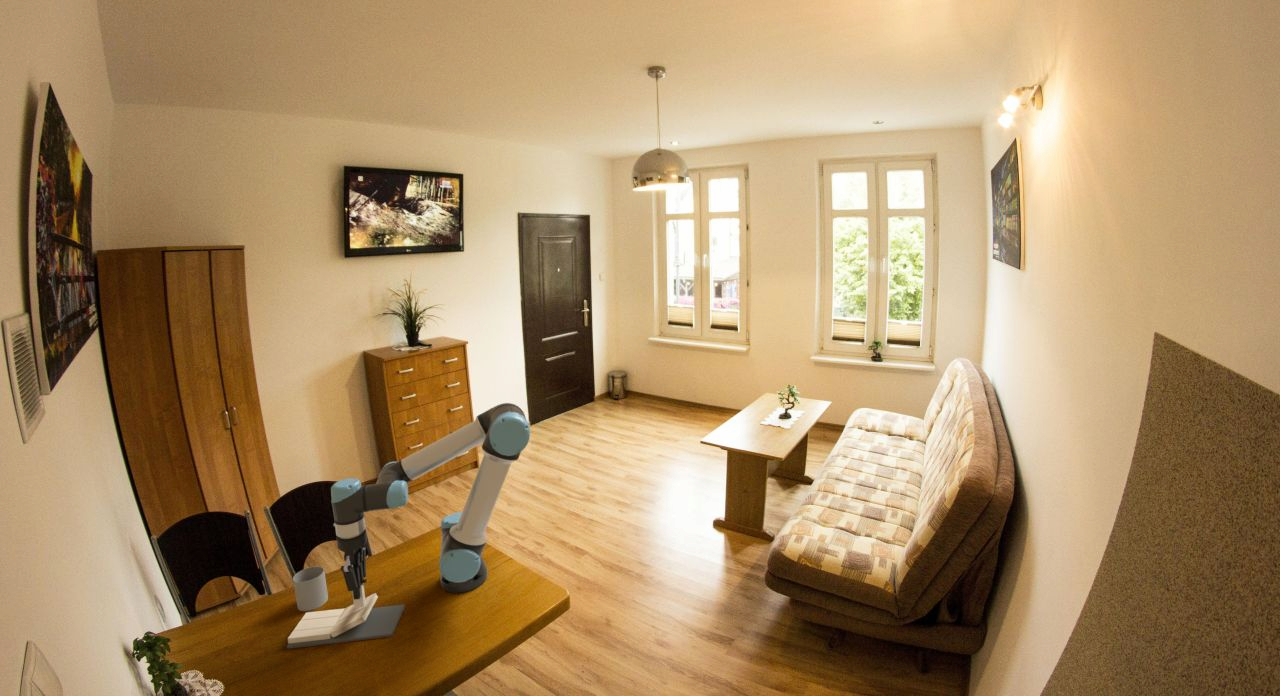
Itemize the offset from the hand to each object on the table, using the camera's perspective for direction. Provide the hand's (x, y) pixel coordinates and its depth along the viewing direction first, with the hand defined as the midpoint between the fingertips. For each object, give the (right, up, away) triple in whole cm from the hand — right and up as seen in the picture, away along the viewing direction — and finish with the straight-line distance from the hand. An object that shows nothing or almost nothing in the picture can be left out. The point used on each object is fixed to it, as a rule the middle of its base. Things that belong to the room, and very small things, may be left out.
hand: (360, 605), depth 155 cm
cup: (-21, -5, +12) cm, 25 cm away
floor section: (-4, -6, +1) cm, 7 cm away
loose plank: (-1, -3, 0) cm, 4 cm away
